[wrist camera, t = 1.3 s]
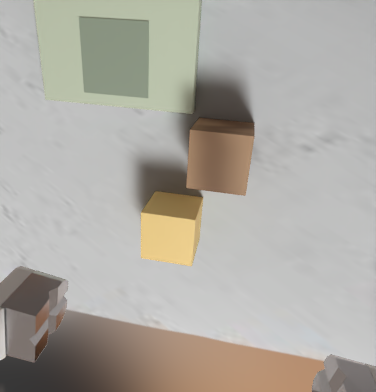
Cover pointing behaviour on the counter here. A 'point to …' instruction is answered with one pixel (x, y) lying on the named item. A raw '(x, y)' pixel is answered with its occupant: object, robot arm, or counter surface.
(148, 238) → the ochre block
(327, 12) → the counter surface
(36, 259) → the counter surface
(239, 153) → the walnut block
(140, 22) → the plate
